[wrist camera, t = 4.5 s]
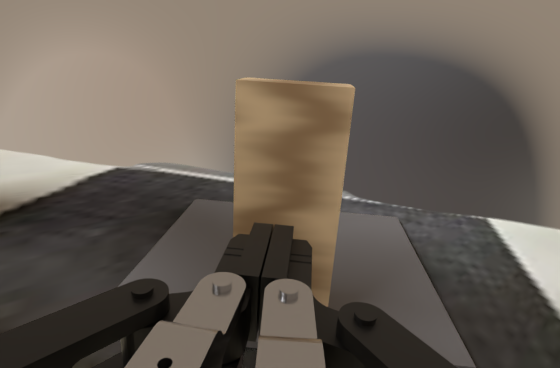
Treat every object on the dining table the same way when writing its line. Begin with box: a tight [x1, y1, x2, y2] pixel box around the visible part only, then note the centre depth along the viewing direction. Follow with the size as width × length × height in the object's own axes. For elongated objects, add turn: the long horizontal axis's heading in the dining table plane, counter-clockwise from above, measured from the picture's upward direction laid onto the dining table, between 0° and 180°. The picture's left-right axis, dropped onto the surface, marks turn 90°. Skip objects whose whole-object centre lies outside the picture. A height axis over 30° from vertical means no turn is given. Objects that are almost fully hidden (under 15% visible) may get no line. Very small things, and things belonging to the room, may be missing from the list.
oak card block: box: [233, 77, 355, 307], centre depth 22 cm, size 6×3×14 cm, turn 85°
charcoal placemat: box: [118, 199, 476, 368], centre depth 30 cm, size 22×20×1 cm
